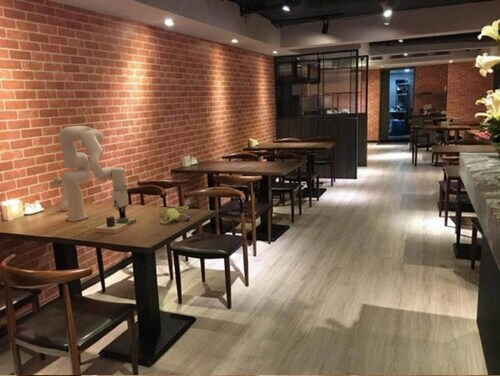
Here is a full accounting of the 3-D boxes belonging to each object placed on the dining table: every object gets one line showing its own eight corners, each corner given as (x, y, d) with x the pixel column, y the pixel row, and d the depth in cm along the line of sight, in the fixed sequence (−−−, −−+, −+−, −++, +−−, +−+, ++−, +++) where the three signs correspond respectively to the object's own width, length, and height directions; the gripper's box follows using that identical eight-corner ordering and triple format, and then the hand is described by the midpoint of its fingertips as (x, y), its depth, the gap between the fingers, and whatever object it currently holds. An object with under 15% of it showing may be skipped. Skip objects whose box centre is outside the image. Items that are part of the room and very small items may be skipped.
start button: (118, 220, 258) (118, 218, 258) (122, 219, 262) (121, 216, 261) (123, 221, 257) (123, 218, 257) (126, 219, 260) (126, 216, 260)
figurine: (189, 212, 282) (188, 204, 281) (191, 222, 256) (191, 213, 255) (160, 214, 279) (160, 206, 278) (160, 225, 253) (159, 216, 252)
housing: (109, 225, 257) (109, 219, 256) (119, 220, 266) (119, 215, 266) (126, 226, 253) (125, 220, 253) (136, 221, 262) (135, 216, 262)
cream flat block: (95, 232, 243) (94, 227, 243) (107, 226, 254) (107, 222, 253) (115, 233, 239) (115, 229, 238) (127, 228, 249) (126, 223, 248)
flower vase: (62, 207, 310) (58, 173, 306) (82, 208, 304) (78, 174, 299) (48, 211, 298) (43, 176, 294) (69, 213, 292) (64, 177, 287)
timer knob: (112, 227, 243) (111, 218, 242) (105, 226, 244) (104, 217, 243) (116, 225, 247) (115, 216, 246) (109, 224, 248) (108, 215, 247)
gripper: (122, 185, 264) (124, 214, 267) (106, 190, 250) (109, 220, 253) (132, 185, 261) (135, 214, 265) (117, 190, 247) (120, 220, 251)
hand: (122, 217), depth 259 cm, fingers closed
